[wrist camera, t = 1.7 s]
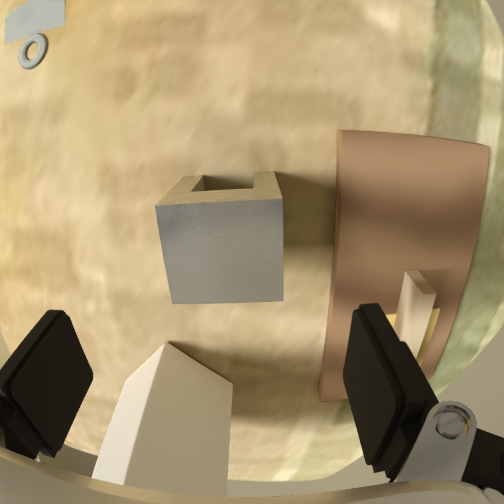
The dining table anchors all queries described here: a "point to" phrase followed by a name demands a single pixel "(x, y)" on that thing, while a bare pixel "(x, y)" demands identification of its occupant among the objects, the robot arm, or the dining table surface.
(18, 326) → the dining table surface
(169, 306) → the dining table surface
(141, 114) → the dining table surface
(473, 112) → the dining table surface
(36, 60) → the mounting bracket
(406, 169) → the rail board
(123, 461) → the milk carton
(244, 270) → the notched grey block
